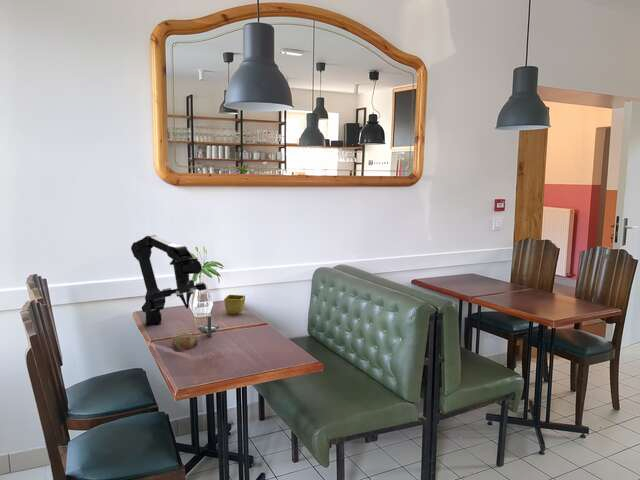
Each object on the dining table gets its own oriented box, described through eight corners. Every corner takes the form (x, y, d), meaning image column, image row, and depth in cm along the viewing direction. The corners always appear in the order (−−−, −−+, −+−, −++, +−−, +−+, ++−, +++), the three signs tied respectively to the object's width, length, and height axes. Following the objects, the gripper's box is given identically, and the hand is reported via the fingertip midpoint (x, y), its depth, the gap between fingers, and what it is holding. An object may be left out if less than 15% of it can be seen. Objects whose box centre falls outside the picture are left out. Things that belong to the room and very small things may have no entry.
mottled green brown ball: (169, 357, 203) (164, 343, 199) (183, 340, 211) (178, 325, 207) (190, 361, 200) (185, 346, 196) (203, 343, 208) (198, 328, 204)
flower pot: (245, 312, 256) (245, 295, 255) (241, 317, 248) (241, 299, 246) (228, 311, 257) (228, 294, 256) (224, 316, 249) (223, 298, 247)
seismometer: (198, 324, 231) (198, 305, 230) (218, 323, 233) (217, 304, 232) (198, 337, 213) (198, 317, 212) (220, 336, 215) (219, 315, 214)
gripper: (159, 280, 212) (165, 316, 213) (204, 272, 217) (210, 307, 219) (159, 276, 222) (165, 311, 224) (202, 269, 228) (207, 303, 229)
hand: (187, 308), depth 224 cm, fingers closed
